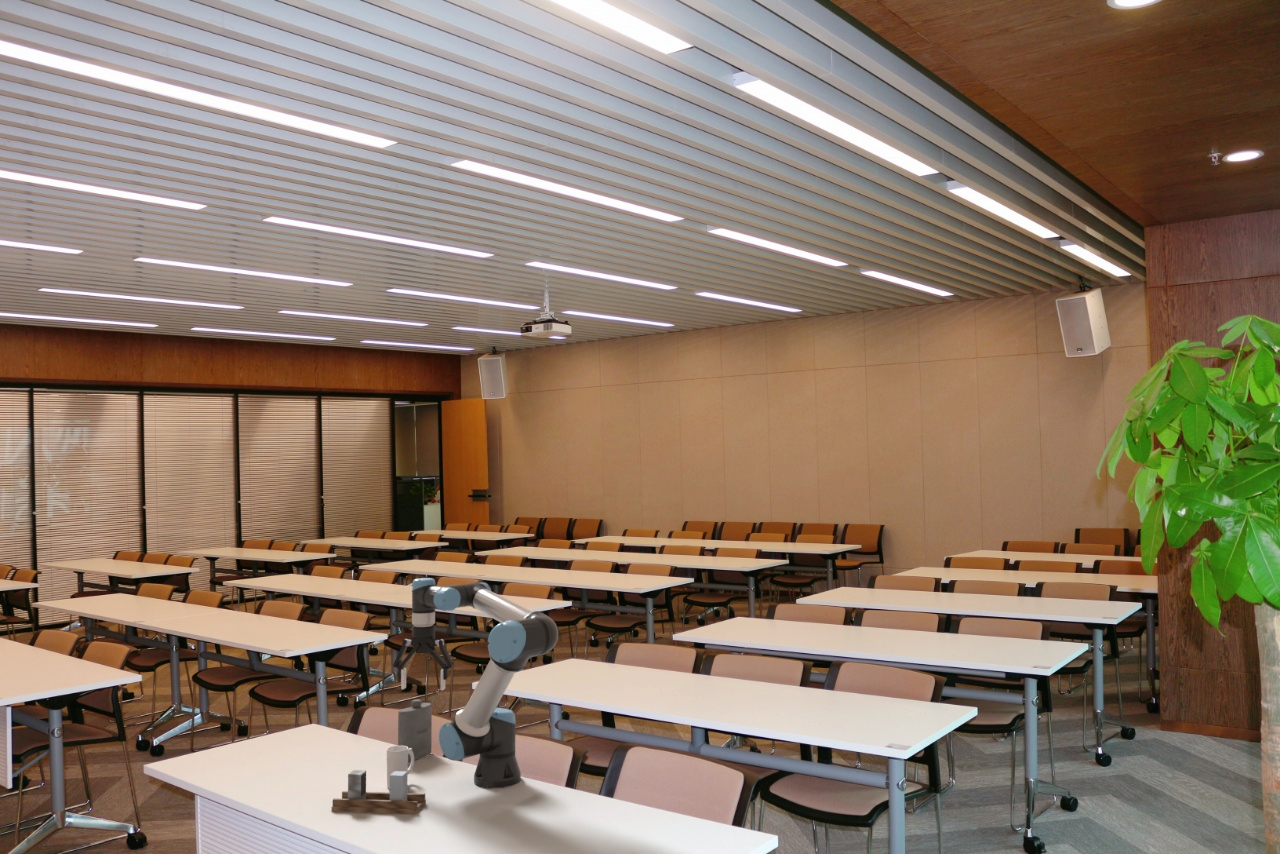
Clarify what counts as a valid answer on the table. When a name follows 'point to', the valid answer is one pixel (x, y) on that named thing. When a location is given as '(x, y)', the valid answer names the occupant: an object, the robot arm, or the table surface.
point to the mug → (398, 760)
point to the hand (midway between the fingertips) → (423, 689)
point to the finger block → (398, 786)
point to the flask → (416, 728)
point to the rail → (374, 799)
